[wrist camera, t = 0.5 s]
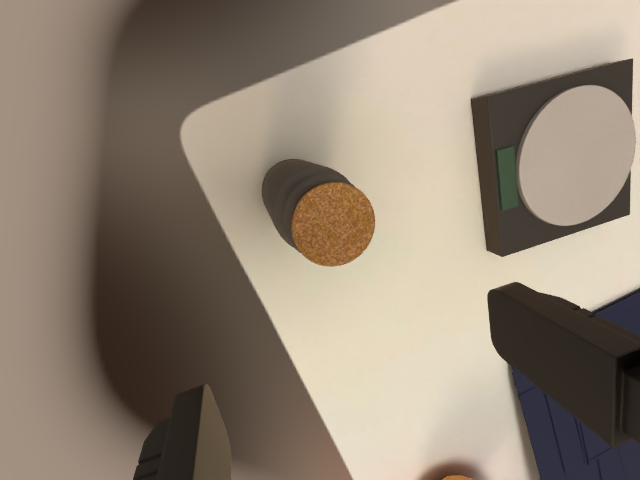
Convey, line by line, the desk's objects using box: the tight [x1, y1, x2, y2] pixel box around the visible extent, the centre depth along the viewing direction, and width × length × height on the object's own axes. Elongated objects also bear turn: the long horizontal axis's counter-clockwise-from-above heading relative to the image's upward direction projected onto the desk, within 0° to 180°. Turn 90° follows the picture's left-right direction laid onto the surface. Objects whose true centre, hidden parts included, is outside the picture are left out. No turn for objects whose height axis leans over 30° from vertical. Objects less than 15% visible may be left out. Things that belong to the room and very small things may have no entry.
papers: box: [512, 292, 640, 480], centre depth 49 cm, size 24×30×4 cm
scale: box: [471, 59, 636, 257], centre depth 38 cm, size 16×16×3 cm
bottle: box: [262, 159, 375, 266], centre depth 27 cm, size 6×6×15 cm
